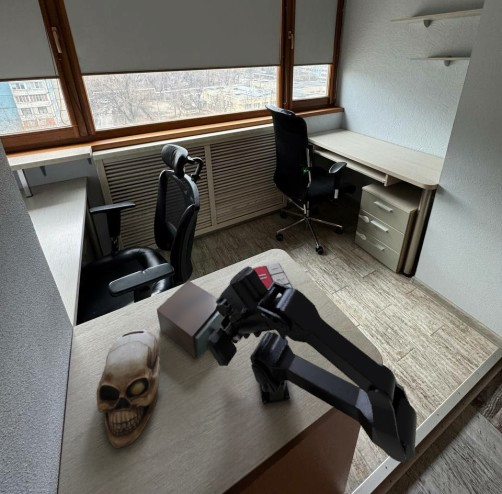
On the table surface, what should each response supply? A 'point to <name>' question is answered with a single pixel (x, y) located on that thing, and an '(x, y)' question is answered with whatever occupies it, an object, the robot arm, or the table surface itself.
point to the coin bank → (129, 385)
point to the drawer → (207, 332)
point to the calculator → (272, 275)
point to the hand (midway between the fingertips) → (222, 324)
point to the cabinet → (186, 315)
